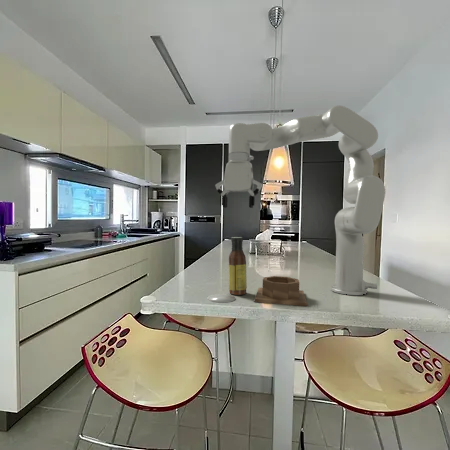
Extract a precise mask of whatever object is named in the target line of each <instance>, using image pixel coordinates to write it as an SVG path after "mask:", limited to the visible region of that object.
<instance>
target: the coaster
mask: <svg viewBox="0 0 450 450" xmlns="http://www.w3.org/2000/svg"><path fill="white" fill-rule="evenodd" d="M207 300H208V301H210V302H212V303H220V304H221V303H222V304H223V303H231V302H234V301H235V300H236V298H235V295H233V294H229V293H215V294H214V293H213V294H210V295H208V296H207Z"/></svg>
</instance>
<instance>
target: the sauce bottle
mask: <svg viewBox="0 0 450 450" xmlns="http://www.w3.org/2000/svg"><path fill="white" fill-rule="evenodd" d="M230 240H231V251H230V253H229V255H228V290H229V295H232V296H243V295H245V294H247V287H248V286H247V282H248V281H247V256H246V255H245V253H244V250H243V249H244V248H243V243H244V237H242V236H232V237H231V238H230Z"/></svg>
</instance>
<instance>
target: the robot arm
mask: <svg viewBox="0 0 450 450" xmlns="http://www.w3.org/2000/svg"><path fill="white" fill-rule="evenodd" d="M338 133H341V134H343V135H341V137H340V139H339V140H338V150H340V152H341V154H342V155H343V156H344V157H345V159H346V160H347V163H348V171H347V176H346V179H345V180H346V181H345V185H344V190H343V198H344V199H345V201H346V202H347V203H348V204H352V205H354V206H350V207H344V208H341V209H340V210H338V212H337V213H336V214H335V217H334V229H335V241H336V245H335V246H336V247H335V275H334V278H335V280H334V284H333V285H331V286H330V291H332V292H335V293H337V294H342V295H346V294H347V295H348V296H364V295H363V294H365V295H367V294H368V289H371V290H372V289H374V290H375V289H376V290H377V289H378V284H377V283H372V282H368V281H365V280H364V255H365V254H364V253H365V244H364V243H365V242H364V238H363V237H364V236H363V235H365V234H369V233H373V231H375V230H376V229H377V227H378V226H379V224H380V220H381V217H382V213H383V207H384V204H385V203H384V202H385V198H386V186H385V183H384V182H383V180H382V179H381V178H380V177H378V176H376V175H373V174H374V166H375V163H374V160H373V156H371V155H372V154H371V153H370V152H369V151H368V149H370V148H371V147H373V146H375V144H376V143H377V141H378V138H379V133H378V129H377V128H376V127H375V125H373V123H371V122H370V121H368V120H367V119H365V118H364V117H362V116H361V115H360V114H359V113H357V112H355V111H353V110H352V109H350V108H348V107H346V106H343V105H334V106H332V107H331V108H329V109H328V110H327V111H326V112H324V113H319V114H315V115H308V116H301V117H295V118H293V119H292V120H289V121H288V122H286V123H284V124H282V125H281V126H278V127H274V128H273V127H272V126H271V125H270V124H268V123H265V122H258V123H256V122H255V123H248V124H247V123H244V122H243V123H242V122H237V123H233V124H231V125H230V127H229V129H228V162H227V163H226V166H225V169H224V170H225V171H224V175H223V176H224V177H223V180H221V181H219V182H217V183H216V184H215V185H214V186H215V188H216V191H217V193H218V194H219V195H220V196H221V205H222V208H225V209H226V208H227V209H228V196H227V195H228V194H229V193H248V194H249V197H248V208H251V209H253V208H254V206H255V202H256V201H255V200H256V199H255V197H256V196H257V195H258V194H259V193H260V191H261V190H262V187H263V183H261V182H259V181H257V180H255V179H254V171H253V164H252V163H251V161H253V160H254V158H255V157H254V156H253V155H251V153H250V152H251V150H252V151H255V152H259V151H267V150H268V151H269V150H274V149H277V148H283V147H285V146H289V145H294V144H296V143H301V142H308V141H312V140H314V141H315V140H319V139H325V138H330V137H333V136H335V135H337V134H338ZM254 185H256V186H257V187H256V189H254ZM222 186H223V190H222V188H221V187H222ZM366 293H367V294H366Z"/></svg>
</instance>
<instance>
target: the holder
mask: <svg viewBox="0 0 450 450" xmlns="http://www.w3.org/2000/svg"><path fill="white" fill-rule="evenodd" d="M305 295H306V294H305V291H304V290H300V280H299V279H298V278H294V277H290V276H277V275H273V276H271V275H270V276H264V277H263V278H262V287H258V288H257V291H256V294H255V296H254V303H261V304H263V303H264V304H274V305H287V306H288V305H289V306H298V307H299V306H301V307H307V306H308V303H307V299H306V296H305Z"/></svg>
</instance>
